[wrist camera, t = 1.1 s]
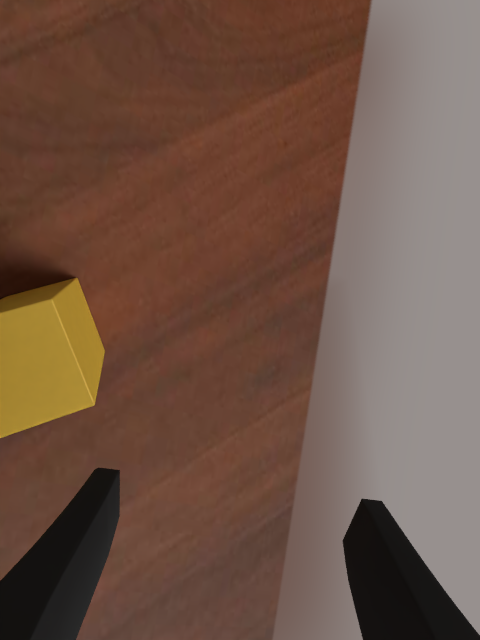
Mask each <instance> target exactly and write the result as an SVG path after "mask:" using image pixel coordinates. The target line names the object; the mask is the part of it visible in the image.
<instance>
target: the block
mask: <svg viewBox="0 0 480 640" xmlns="http://www.w3.org/2000/svg"><path fill="white" fill-rule="evenodd" d="M104 353H105V350H104V347H103V345H102V342H101V339H100V337H99V334H98V331H97V329H96V326H95V323H94V321H93V318H92V315H91V313H90V310H89V308H88V305H87V302H86V300H85V297H84V294H83V292H82V289H81V286H80V284H79V281H78V278H73V279H70V280H66V281H62V282H58V283H55V284H51V285H47V286H43V287H40V288H36V289H32V290H28V291H25V292H21V293H17V294H13V295H10V296H7V297H5V298H3V299H1V300H0V438H2V437H4V436H7V435H10V434H13V433H16V432H19V431H22V430H25V429H27V428H30V427H33V426H36V425H39V424H42V423H45V422H48V421H50V420H53V419H56V418H59V417H62V416H65V415H68V414H71V413H73V412H76V411H79V410H82V409H85V408H88V407H91V406H94V405H95V401H96V396H97V390H98V385H99V380H100V375H101V369H102V364H103V359H104Z"/></svg>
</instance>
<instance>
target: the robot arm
mask: <svg viewBox="0 0 480 640" xmlns="http://www.w3.org/2000/svg"><path fill="white" fill-rule="evenodd" d="M119 503H120V470H114V469H105V468H97V469H95V470H94V471H93V473H92V474H91V476H90V477H89V478H88V480H87V481H86V482H85V484H84V485H83V486H82V488H81V489H80V490H79V492H78V493H77V494H76V496H75V497H74V498H73V499H72V501H71V502H70V503H69V504H68V506H67V507H66V508H65V509H64V510H63V512H62V513H61V514H60V515H59V517H58V518H57V519H56V520H55V521H54V522H53V524H52V525H51V526H50V527H49V528H48V529H47V531H46V532H45V533H44V534H43V535H42V536H41V538H40V539H39V540H38V541H37V542H36V543H35V544H34V545H33V547H32V548H31V549H30V550H29V551H28V552H27V553H26V554H25V555H24V556H23V557H22V558H21V560H20V561H19V562H18V563H17V564H16V565H15V566H14V567H13V568H12V569H11V570H10V571H9V572H8V574H7V575H6V576H5V577H4V578H3V579H2V580H1V581H0V640H76V638H77V635H78V633H79V630H80V627H81V625H82V622H83V620H84V617H85V614H86V612H87V609H88V607H89V604H90V602H91V599H92V596H93V594H94V591H95V589H96V586H97V583H98V581H99V578H100V576H101V573H102V570H103V568H104V565H105V563H106V560H107V557H108V554H109V551H110V548H111V544H112V541H113V537H114V534H115V530H116V526H117V523H118V519H119ZM343 546H344V554H345V562H346V568H347V574H348V581H349V585H350V589H351V593H352V597H353V601H354V605H355V609H356V613H357V617H358V621H359V625H360V629H361V633H362V637H363V640H480V635H479V634H478V633H477V632H476V630H475V629H474V628H473V627H472V625H471V624H470V623H469V622H468V620H467V619H466V618H465V616H464V615H463V614H462V613H461V611H460V610H459V609H458V607H457V606H456V605H455V604H454V602H453V601H452V600H451V598H450V597H449V596H448V594H447V593H446V592H445V591H444V589H443V588H442V586H441V585H440V583H439V582H438V581H437V579H436V578H435V577H434V575H433V574H432V573H431V571H430V570H429V569H428V567H427V566H426V564H425V563H424V561H423V560H422V559H421V557H420V556H419V555H418V553H417V551H416V550H415V549H414V547H413V546H412V544H411V543H410V542H409V540H408V539H407V537H406V536H405V534H404V533H403V531H402V530H401V528H400V527H399V526H398V524H397V523H396V521H395V520H394V518H393V517H392V516H391V514H390V512H389V511H388V509H387V508H386V507H385V505H384V504H383V502H382V501H377V500H368V499H362V500H361V502H360V504H359V506H358V508H357V511H356V513H355V515H354V517H353V519H352V521H351V524H350V526H349V528H348V530H347V532H346V535H345V537H344V539H343Z"/></svg>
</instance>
